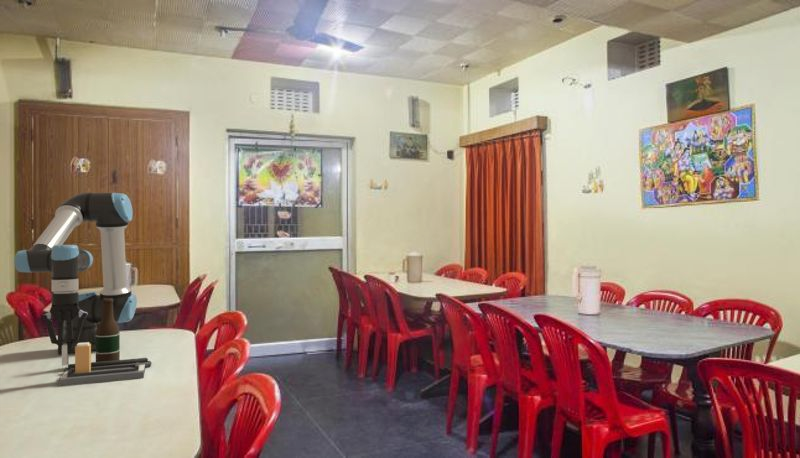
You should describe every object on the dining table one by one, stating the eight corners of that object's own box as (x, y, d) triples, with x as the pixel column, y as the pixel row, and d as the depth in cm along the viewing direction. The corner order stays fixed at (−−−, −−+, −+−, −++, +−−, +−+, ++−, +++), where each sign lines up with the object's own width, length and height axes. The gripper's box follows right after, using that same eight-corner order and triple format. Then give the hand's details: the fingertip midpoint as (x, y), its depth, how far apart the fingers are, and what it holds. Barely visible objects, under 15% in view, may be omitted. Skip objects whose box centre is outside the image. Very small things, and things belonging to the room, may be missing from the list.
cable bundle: (63, 375, 184) (63, 365, 184) (65, 372, 188) (65, 363, 188) (151, 367, 195) (151, 358, 195) (151, 365, 198) (151, 356, 198)
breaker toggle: (77, 371, 180) (77, 342, 180) (90, 370, 182) (90, 341, 182) (75, 374, 177) (75, 345, 177) (89, 373, 178) (89, 344, 178)
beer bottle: (109, 367, 195) (109, 300, 195) (90, 366, 197) (90, 299, 197) (124, 361, 203) (124, 297, 203) (106, 361, 204) (106, 297, 204)
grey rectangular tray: (66, 376, 183) (66, 366, 183) (145, 369, 192) (145, 359, 192) (59, 386, 172) (59, 375, 172) (143, 377, 181) (143, 367, 181)
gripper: (38, 294, 171) (39, 369, 171) (86, 292, 176) (86, 365, 176) (44, 291, 178) (44, 363, 178) (89, 290, 183) (89, 360, 183)
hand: (65, 364), depth 177 cm, fingers closed
